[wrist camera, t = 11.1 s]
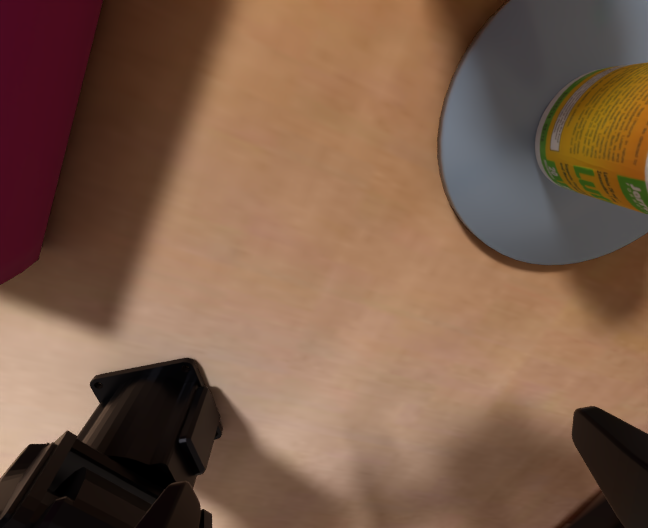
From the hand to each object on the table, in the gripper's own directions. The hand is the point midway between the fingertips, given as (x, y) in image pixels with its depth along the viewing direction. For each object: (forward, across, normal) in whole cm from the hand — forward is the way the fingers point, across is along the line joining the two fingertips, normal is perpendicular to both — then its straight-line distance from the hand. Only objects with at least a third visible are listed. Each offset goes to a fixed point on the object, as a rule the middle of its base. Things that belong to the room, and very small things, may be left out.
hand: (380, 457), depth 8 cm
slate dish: (+13, -13, -4) cm, 19 cm away
